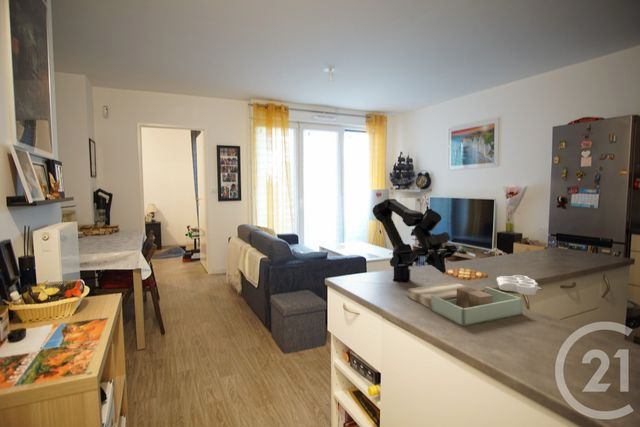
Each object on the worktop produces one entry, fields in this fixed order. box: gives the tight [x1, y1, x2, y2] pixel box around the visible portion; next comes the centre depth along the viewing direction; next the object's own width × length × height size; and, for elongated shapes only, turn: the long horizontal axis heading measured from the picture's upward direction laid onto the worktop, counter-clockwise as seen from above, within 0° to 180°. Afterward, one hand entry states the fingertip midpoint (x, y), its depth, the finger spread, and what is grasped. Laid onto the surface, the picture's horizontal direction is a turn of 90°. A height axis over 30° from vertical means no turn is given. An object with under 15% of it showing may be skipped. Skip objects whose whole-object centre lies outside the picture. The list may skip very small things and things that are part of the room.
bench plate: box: [407, 281, 468, 309], centre depth 120 cm, size 14×22×3 cm, turn 111°
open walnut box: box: [457, 286, 493, 309], centre depth 107 cm, size 6×5×10 cm
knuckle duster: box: [496, 274, 542, 296], centre depth 131 cm, size 3×18×15 cm
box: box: [430, 286, 523, 327], centre depth 107 cm, size 14×24×5 cm, turn 111°
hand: (444, 272), depth 120 cm, fingers closed
